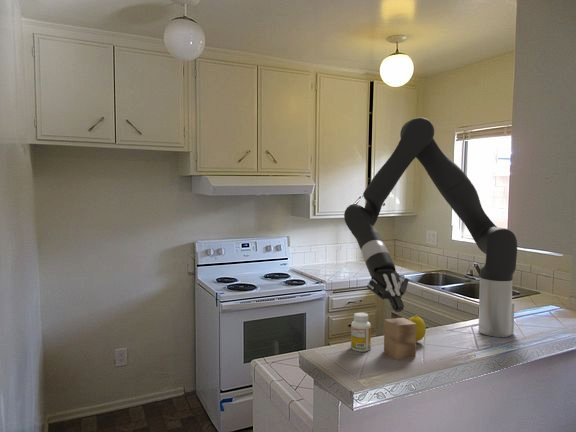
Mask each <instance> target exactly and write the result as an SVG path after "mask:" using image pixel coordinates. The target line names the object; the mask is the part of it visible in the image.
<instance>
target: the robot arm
mask: <svg viewBox="0 0 576 432" xmlns="http://www.w3.org/2000/svg"><path fill="white" fill-rule="evenodd" d="M399 134H400V135H399V136H400V139H399V141H398V144H397V146H396V147H395V149H394V150H393V152H392V153H391V155H390V157H388V159H387V160H386V162H385V163H384V164H383V165H382V166H381V167H380V168H379V170H378V171H377V172H376V173H375V175H374V177H373V178H372V179H371V181H370V182H369V184H368V185H367V187H366V188H365V189H364V191H363V193H362V196H363V199H364V200H365V204H364V205H365V206H364V207H363V206H362V205H360V204H355V203H353V204H349V205H348V206H347V207H346V208H345V210H344V215H343V217H344V223H345V224H346V226H347V228H348V229H349V230H350V233H351V234H352V235H353V237H354V238H355V240H356V241H357V245H358V247H359V249H360V251H361V254H362V258H363V261H364V263H365V265H366V268H367V270H368V273H369V275H370V277H371V278H370V280H369V282H368V284H367V286H366V287H367V289H369V290H370V291H371V292H373V293H374V294H375V295H377V296H378V297H379V298H380V299H381V300H385V299H386V300H387V301H389V303H390V305H391V308H392V309H393V311H394V312H395V313H401V312H402V311H403V310H404V307H405V305H404V302H403V300H402V298H403V296H404V295H405V293H406V290H407V288H408V285H409V281H410V280H409V278H408V277H405V278H403V277H401V276H400V274H399V273H398V272H397V271H396V270H397V269H396V265H395V263H394V261H393V258H392V257H391V255H390V252H389V251H388V248H387V246H386V245H385V243H384V242H383V240H382V237H381V235H380V233H379V231H378V230H377V228H375V227H374V226H375V224H376V222H377V220H378V218H379V215H380V213H381V210H382V207H383V204H384V203H385V201H386V200H387V198H388V197H389V196H390V194H391V192H392V191H393V189H395V187H396V185H397V183H398V182H399V180H400V178H401V177H402V176H403V174H404V173H405V171H407V169H408V168H409V166H410V165H411V163H413V161H414V160H415V159H417V160H418V162H419V163H420V164H421V166H423V168H424V170H425V171H426V173H427V175H428V176H429V178H430V179H431V181H432V183H433V184H434V186H435V187H436V189H437V190H438V191H439V193H440V195H441V196H442V197H443V198H444V200H445V202H447V204H448V205H449V206H450V207H451V208H452V210H453V211H454V213H455V214H456V215H457V217H458V218H459V219H460V220H461V221H462V222H463V224H464V225H465V227H466V228H467V231H468V232H469V233H470V235H471V237H472V239H473V241H474V243H475V244H476V245H477V248H478V249H479V250H480V251H481V252H483V254H485V262H484V263H485V264H484V266H483V267H481V268H480V269H479V295H478V296H479V298H478V332H479V333H481V334H483V335H485V336H489V337H496V338H507V337H510V336H512V335H514V331H515V330H514V329H515V327H514V326H515V325H514V324H515V303H513V279H514V278H513V277H514V273H515V271H516V268H517V257H518V256H517V255H518V241H517V240H518V239H517V237H516V234H515V233H514V232H513V231H512V230H511V229H508V228H503V227H498V226H497V225H496V224H495V223H494V222H493V221H492V219H490V217H489V216H488V215H487V213H486V212H485V211H484V209H483V206H482V203H481V199H480V196H479V194H478V191H477V189H476V188H475V186H474V184H473V183H472V181H471V180H470V178H469V177H468V176H467V175H466V173H465V172H464V171H463V170H462V169H461V168H460V167H459V166H458V165H457V164H456V162H454V161H453V160H452V159H451V158H450V157H449V156H447V154H445V153H444V152H443V150H442V149H441V148H440V146H439V145H438V144H437V141H436V140H435V138H434V136H435V128H434V125H433V123H432V121H431V120H429V119H428V118H426V117H425V118H424V117H414V118H412V119H410V120H408V121H407V122H405V123H404V124H403V126H402V127H401V129H400V133H399Z"/></svg>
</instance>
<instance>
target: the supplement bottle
mask: <svg viewBox="0 0 576 432" xmlns="http://www.w3.org/2000/svg"><path fill="white" fill-rule="evenodd" d="M350 325H351V326H350V327H351V329H350V331H351V332H350V347H351V349H352V350H353V351H355V352H362V353H363V352H368V351H370V350H371V344H372V343H371V337H372V335H371V334H372V333H371V332H372V326H371V322H369V314H368V313H367V312H356V313H354V314H353V321H352V322H351V323H350Z"/></svg>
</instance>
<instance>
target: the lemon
mask: <svg viewBox="0 0 576 432" xmlns="http://www.w3.org/2000/svg"><path fill="white" fill-rule="evenodd" d="M408 320H409V321H412V322H414V323H416V343H417V342H420V341H421V340H423V339H424V337H425V335H426V329H427V327H426V323H425V321H424V319H422V318H421V317H420V316H418V315H415V314H414V316H411V317H410V318H408Z"/></svg>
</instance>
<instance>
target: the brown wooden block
mask: <svg viewBox="0 0 576 432" xmlns="http://www.w3.org/2000/svg"><path fill="white" fill-rule="evenodd" d="M383 327H384V328H383V335H384V337H383V353H385V354H387V355H388V356H390V357H391V358H392V359H394V360H402V359H412V358H416V357H417V356H416V352H417V349H416V348H417V342H416V323H414V322H412V321H409V319H407V318H405V317H396V318H387V319H386V318H385V319H384V324H383Z"/></svg>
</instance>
